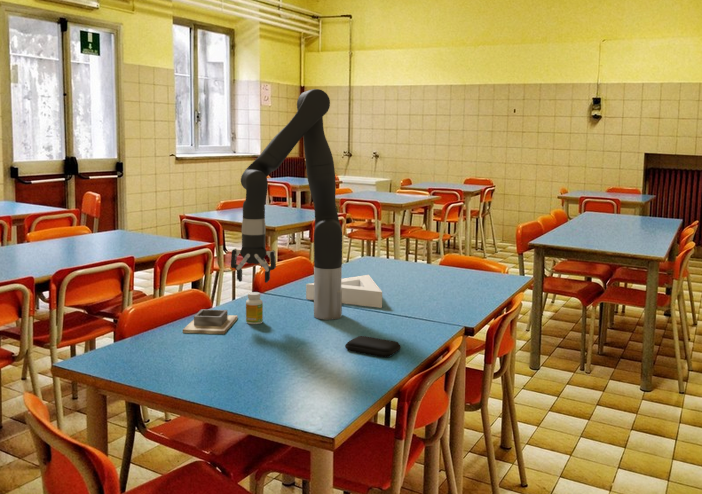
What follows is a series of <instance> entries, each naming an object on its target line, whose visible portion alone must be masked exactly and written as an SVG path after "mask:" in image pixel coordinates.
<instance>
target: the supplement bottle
mask: <svg viewBox="0 0 702 494" xmlns="http://www.w3.org/2000/svg"><path fill="white" fill-rule="evenodd" d="M263 306H264V305H263V300H262V299H261V292H258V291H251V292H248V293H247V299H246V301H245V322H246V324H248V325H259V324H262V323H263V322H264V320H263V319H264V318H263V317H264V315H263V314H264V313H263V311H264V310H263Z"/></svg>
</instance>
